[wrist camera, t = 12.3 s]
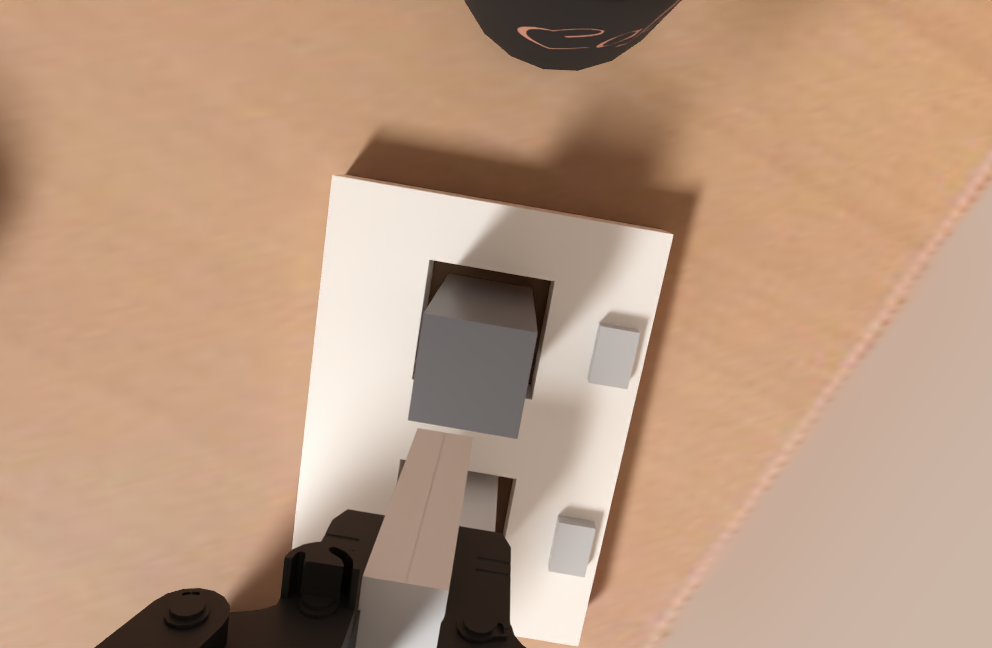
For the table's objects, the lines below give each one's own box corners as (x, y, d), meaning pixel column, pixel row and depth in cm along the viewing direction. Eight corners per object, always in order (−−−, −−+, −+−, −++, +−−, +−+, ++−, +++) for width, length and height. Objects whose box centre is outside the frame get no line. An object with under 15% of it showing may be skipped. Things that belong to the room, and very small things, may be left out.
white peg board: (345, 174, 35) (254, 179, 23) (662, 229, 35) (738, 263, 23) (300, 571, 41) (208, 742, 29) (574, 617, 41) (598, 807, 29)
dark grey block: (448, 273, 36) (423, 313, 26) (532, 287, 36) (537, 332, 27) (436, 353, 37) (407, 420, 28) (517, 367, 37) (517, 438, 28)
